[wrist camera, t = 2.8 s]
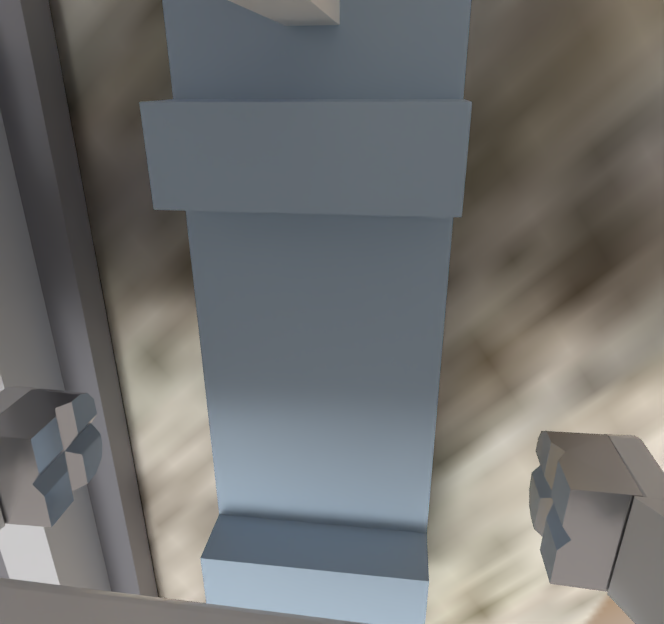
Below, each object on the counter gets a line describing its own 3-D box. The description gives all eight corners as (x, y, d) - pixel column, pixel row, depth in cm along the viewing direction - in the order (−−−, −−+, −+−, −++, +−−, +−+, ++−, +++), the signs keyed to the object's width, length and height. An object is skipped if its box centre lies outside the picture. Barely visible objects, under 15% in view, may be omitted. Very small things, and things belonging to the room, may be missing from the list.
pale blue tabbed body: (228, -126, 11) (-90, -495, 4) (462, -138, 10) (578, -588, 3) (275, 598, 19) (198, 902, 12) (408, 612, 18) (409, 939, 11)
